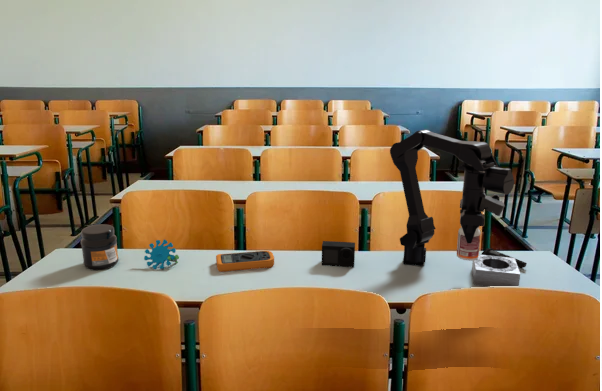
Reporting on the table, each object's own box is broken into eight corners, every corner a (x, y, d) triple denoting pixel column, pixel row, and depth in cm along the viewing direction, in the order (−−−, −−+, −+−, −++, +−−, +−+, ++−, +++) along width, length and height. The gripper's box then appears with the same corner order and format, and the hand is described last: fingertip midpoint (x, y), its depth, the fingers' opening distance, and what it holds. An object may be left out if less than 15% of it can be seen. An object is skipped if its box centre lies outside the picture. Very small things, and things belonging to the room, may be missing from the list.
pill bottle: (482, 260, 148) (486, 223, 145) (462, 262, 147) (466, 224, 144) (471, 252, 154) (474, 216, 151) (452, 254, 153) (455, 217, 150)
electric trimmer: (520, 273, 159) (522, 263, 158) (480, 256, 172) (481, 247, 171) (528, 270, 161) (529, 261, 160) (487, 253, 174) (488, 245, 173)
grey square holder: (474, 285, 150) (475, 269, 148) (471, 268, 161) (473, 254, 160) (518, 290, 147) (520, 274, 146) (512, 273, 158) (514, 258, 157)
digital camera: (320, 267, 162) (321, 246, 160) (322, 260, 167) (322, 240, 165) (353, 269, 161) (354, 248, 159) (354, 262, 166) (355, 242, 164)
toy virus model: (138, 264, 160) (150, 235, 165) (144, 270, 165) (156, 242, 170) (170, 272, 158) (182, 242, 163) (176, 278, 163) (187, 250, 168)
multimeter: (275, 269, 161) (275, 258, 160) (217, 274, 158) (217, 263, 157) (271, 258, 170) (271, 248, 169) (216, 263, 166) (215, 253, 165)
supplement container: (119, 268, 161) (115, 232, 157) (82, 273, 157) (78, 236, 154) (118, 256, 170) (115, 222, 167) (84, 260, 167) (80, 225, 164)
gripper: (507, 198, 134) (500, 254, 138) (501, 181, 151) (496, 231, 156) (462, 195, 137) (457, 249, 141) (462, 179, 154) (457, 228, 159)
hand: (468, 239), depth 149 cm, fingers closed on pill bottle, 6 cm apart
